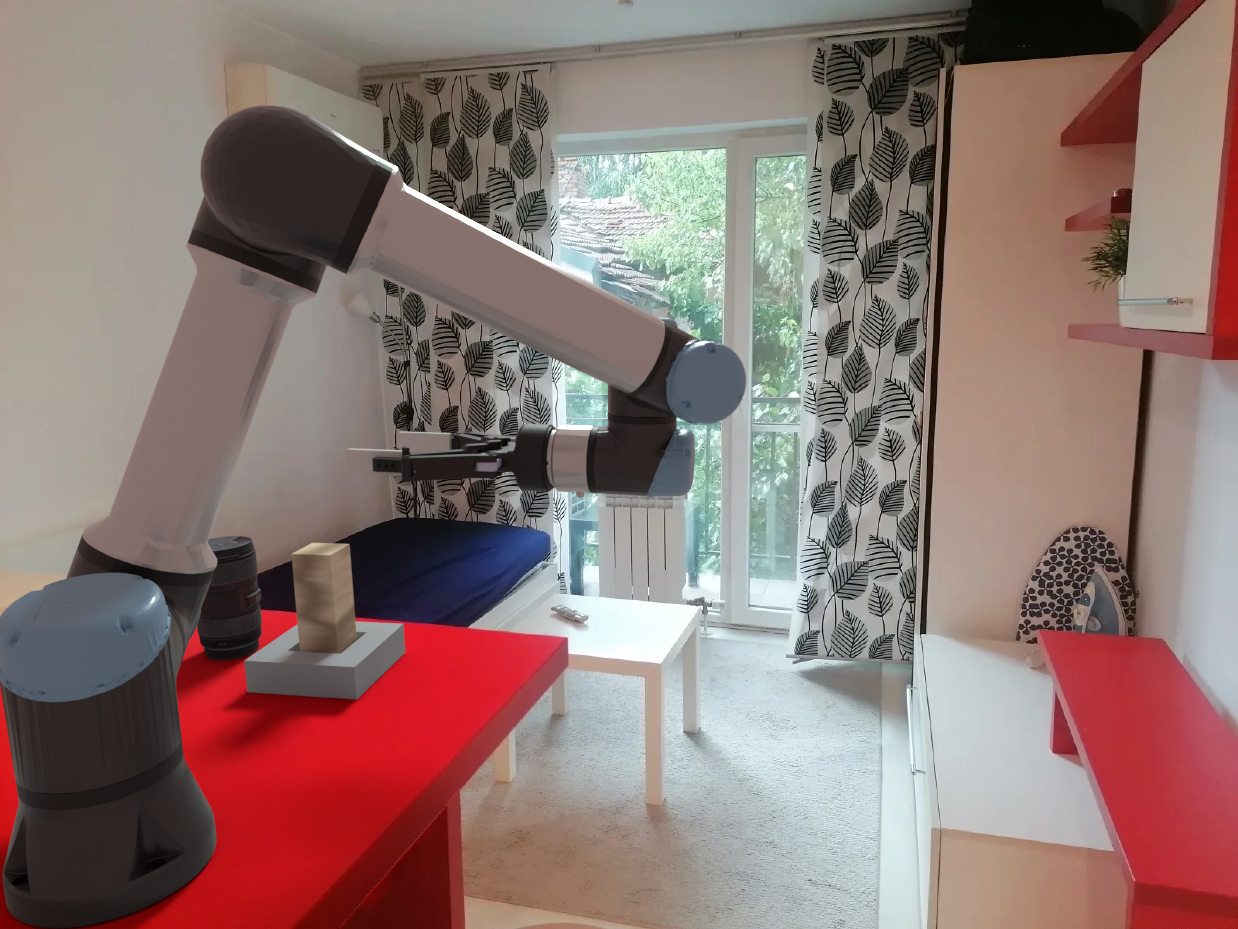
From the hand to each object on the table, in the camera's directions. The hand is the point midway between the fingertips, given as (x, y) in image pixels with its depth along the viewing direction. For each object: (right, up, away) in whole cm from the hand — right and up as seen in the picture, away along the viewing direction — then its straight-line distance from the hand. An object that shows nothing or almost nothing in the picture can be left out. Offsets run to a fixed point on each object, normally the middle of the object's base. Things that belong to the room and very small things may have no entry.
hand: (375, 451), depth 101 cm
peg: (-8, -28, +9) cm, 30 cm away
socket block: (-8, -28, +9) cm, 30 cm away
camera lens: (-24, -27, +16) cm, 39 cm away
